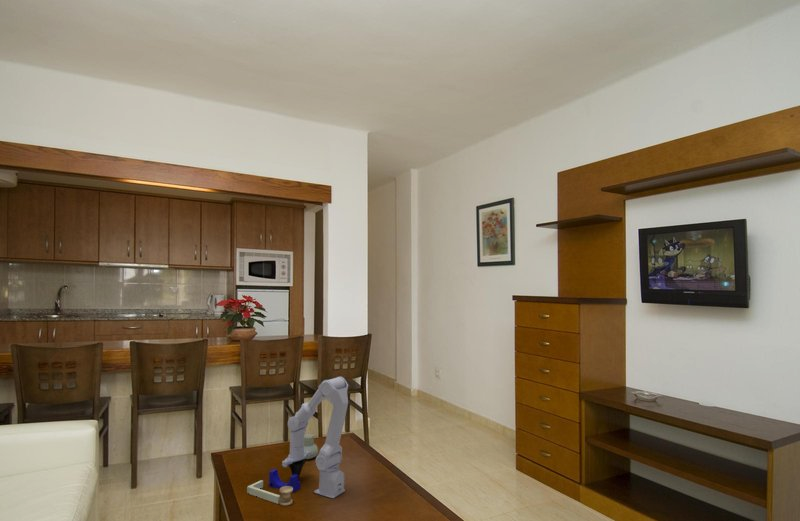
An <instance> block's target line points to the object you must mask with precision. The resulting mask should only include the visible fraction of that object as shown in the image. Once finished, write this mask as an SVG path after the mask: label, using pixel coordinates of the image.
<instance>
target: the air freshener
mask: <svg viewBox="0 0 800 521" xmlns="http://www.w3.org/2000/svg"><path fill="white" fill-rule="evenodd" d="M304 451H310V456H307V457H305V458H304V459H303V460H311V459H313V458H315V457H317V456H318V455H319V448H318V445H317V444H316V443H315V435H314V434H312V433H304Z"/></svg>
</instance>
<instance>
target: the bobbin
mask: <svg viewBox="0 0 800 521" xmlns="http://www.w3.org/2000/svg"><path fill="white" fill-rule="evenodd" d="M292 491H293V487H291V486H284V487H281V488H280V489H279V493H280V494H281V498H280V501H279V504H278V505H280V506H284V507H285V506H286V507H288V506H290V505H292V504H293V499H292V498H291V492H292Z"/></svg>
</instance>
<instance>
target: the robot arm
mask: <svg viewBox="0 0 800 521" xmlns="http://www.w3.org/2000/svg"><path fill="white" fill-rule="evenodd" d="M348 389H349V384H348V382H347V380H346V379H345V378H344V377H343V376H337V377H334V378H331V379H324V380H323V381H322V382H321V383H320V384H319V385H318V389H317V390H316V391H315V393H314V394H313V396H312V397H311V399H310V400H309V402H304V403H302V404H301V406H300V408H299V410H298V411H296V412H295V415H294V416H290V417H289V419H288V420H287V428H288V430H289V431H290V434H289V440H290V441H289V454H288V456H287V457H286V458H285V459H284V460H282V461H281V463H282V464H281V466H282V467H283V468H288V467H289V469H290V471H291V476H293V475H294V474H296V475H298V480H299V479H300V477H301V476H300V475H301V473H302V470H303V467H304V466H305V464H306V459H304V458H305V457H307V456H310V451H304V434H306V428H307V427H308V425H309V421H310V419H311V418H312V417H313V416H314V414H315V413H316V407H317V406H319V404H320V403H321V402H322V401H323V400H324V399H326V400H327V401H328V402H329V403H330V404H332V411H331V415H330V420H329V424H328V427H327V433H326V437H325V441H324V444H323V446H321V448H320V450H319V451H318V454H317V455H316V456H315V457H316V458H315V465H316V467H317V470H318V471H319V475H318V476H319V477H318V489H315V490H314V491H313V493H315V494H317V495H321V496H322V497H327V498H330V499H334V498H336V497H338V496H340V495H341V494H342V493H344V492H346V489H345V472H344V471H341V470H340V468H339V466H340V463H342V460H343V454H342V452H343V447H342V446H341V445H340V442H341V438H342V433H343V427H344V423H345V419H346V414H347V411H348V407H349V398H348V391H349V390H348Z"/></svg>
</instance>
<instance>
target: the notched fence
mask: <svg viewBox="0 0 800 521" xmlns="http://www.w3.org/2000/svg"><path fill="white" fill-rule="evenodd" d="M260 488H261V489H260ZM262 488H264V480H262V479H261V480H258V481H257V482H254V483H252V484H249V485H248V486H247V487H246V494H248V493H249V494H248V495H251V496H254V497H256V496H257V497H256V498H259V499H262V500H265V501H269V502H271V503H274V504H276V505H280V504H279V501H280V499H281V498H282V495H280V494H276V493H273V492H270V491H267V490H264V489H262Z"/></svg>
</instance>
